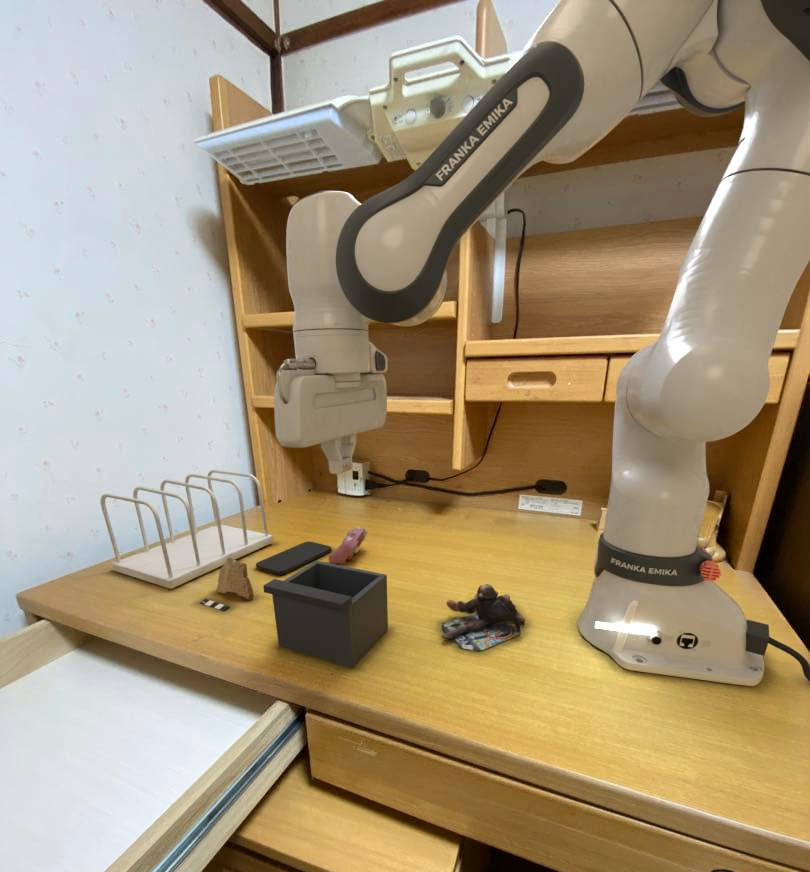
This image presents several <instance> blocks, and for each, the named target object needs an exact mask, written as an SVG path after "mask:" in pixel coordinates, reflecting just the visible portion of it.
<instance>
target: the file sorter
mask: <svg viewBox="0 0 810 872" xmlns="http://www.w3.org/2000/svg"><path fill="white" fill-rule="evenodd" d="M212 474H222V475H230V476H237V477H245V478H250V479H252V480H253V481H254V482H255V484H256V487H257V492H258V497H259V504H260V512H261V519H262V525H263V531H264V533H263V532H260V531H256V530H255V531H254V530H251V529H250V530H249V529H247V524H246V516H245V507H244V498H243V492H242V490H241V488H240V486H239V484H238V483H237V482H236V481H234V480H232V479H227V478H222V477H215V476H212ZM191 478H198V479H203V480H207V485H208V487H206V486H203V485H199V484H192V483H189V481H190V479H191ZM212 481H215V482H221V483H228V484H231V485H232V486H234V487H235V490H236V491H237V495H238V502H239V508H240V509H239V510H240V516H241V517H240V518H241V526H242V528H241V527H235V526H230V525H225V524H222V522H221V518H220V512H219V505H218V500H217V498H216V495H215V494H214V491H213V486H212ZM166 484H171V485H177V486H182V487H184V488H185V491H186V497H187V500H186V499H185V497H184V496H182V494H181V495H180V494H179V493H173V492H168V491H165V485H166ZM190 488H192V489H196V490H200V491H205V492H206V493H207V494H208V495H209V496H210V502H211V507H212V512H213V517H214V523H215V525H212V526H209V527H206V528H204V529H201V530H199V531H198V527H197V521H196V515H195V512H194V507H193V501H192V496H191V491H190ZM159 489H160V490H159ZM159 489H155V488H150V487H145V486H139V485H138V486H136V487H135V488H134V489H133V492H132V497H129V496H123V495H119V494H113V493H104V494H102V495H101V497H100V508H101V510H102V514H103V517H104V520H105V525H106V527H107V532H108V535H109V539H110V542H111V545H112V548H113V553H114V556H115V559H116V561H113V562H112V563H111V565H112V568H113V571H114V572H116V573H120V574H123V575H125V576H130V577H133V578H136V579H140V580H143V581H145V582H149V583H152V584H154V585H157V586H161V587H164V588H167V589H170V590H171V589H175V588H176V587H178V586H181V585H184V584H185V583H187V582H189V581H191V580H194V579H195V578H197V577H200V576H202V575H204V574H207V573H209V572H211V571H213V570H216V569H218V568H220V567H223V566H224V565H225V563H226V561H227V558H232V559H234V560H237V559H239V558H241V557H244V556H246V555H248V554H250V553H252V552H255V551H258V550H259V549H261V548H263V547H266V546H268V545H270V544H273V543H274V536H273V535H272V534H269V532H268V525H267V519H266V518H267V517H266V510H265V505H264V498H263V491H262V486H261V483H260V480H258V478H257V477H256V476H255V475H253V474H251V473H245V472H237V471H229V470H221V469H211V470H209V471H208V473H207V475H203V474H198V473H189V474H187V475H186V476H185V479H184V482H183V481H177V480H173V479H172V480H171V479H164V480H163V481H161V483H160V488H159ZM139 491H144V492H148V493H153V494H158V495H161V500H162V504H163V510H164V514H165V519H166V523H167V528H168V533H169V537H170V541H169V542H166V541H165V537H164V532H163V528H162V524H161V519H160V516H159V513H158V511H157V509H156V508H155V506H154V505H153V504H152V503H150V502H149V501H147V500H143V499H138V492H139ZM167 497H172V498H176V499H177V500H179V501H181V503H182V504H183V505H184V508H185V510H186V511H185V512H186V515H187V520H188V526H189V527H188V528H189V531H190V534H187V535H185V536H182V537H180V538H176V539H175V536H174V531H173V527H172V523H171V522H172V521H171V517H170V513H169V507H168V502H167ZM106 498H110V499H115V500H120V501H125V502H130V503H134V506H135V510H136V511H135V512H136V515H137V519H138V523H139V529H140V533H141V537H142V543H143V545H144V551H141V552H138V553H135V554H133V555H130V556H127V557H124V558H121V556H120V552H119V549H118V545H117V542H116V538H115V534H114V531H113V527H112V524H111V520H110V517H109V513H108V509H107V505H106ZM140 505H143V506H146V507H148V509H150V511H151V513H152V514H153V518H154V521H155V525H156V529H157V534H158V538H159V541H160V542H159V543H160V545H158V546H154V547H152V548H149V547H150V546H149V543H148V538H147V534H146V530H145V526H144V522H143V517H142V513H141V508H140Z"/></svg>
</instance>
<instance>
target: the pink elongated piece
mask: <svg viewBox="0 0 810 872" xmlns="http://www.w3.org/2000/svg"><path fill="white" fill-rule="evenodd" d="M367 534H368V531H367V530H366V529H365V528H362V527H359V526H357V527H356V528H352V529H350V530H349V531H347V533H346V536H345V538H343V540H342V542H341V544H340V545H339V546H338V547H336V549H334V550H333V551H331V552H330V554H329V555H328V563H331V564H336V565H338V564H340V563H343V562H344V561H346V560H349V561H350V560H351V559H352V558H353V556H354V555H355V554H357V553H359V551H360V546H361V545H362V543H363V542H364V541H365V539H366V536H367Z"/></svg>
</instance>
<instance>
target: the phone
mask: <svg viewBox="0 0 810 872" xmlns="http://www.w3.org/2000/svg"><path fill="white" fill-rule="evenodd" d="M329 553H332V546H330V545H327V544H323V543H318V542H315V541H304V542H301V543H299V544H296V545H295V546H292V547H289V548H288V549H286V550H283V551H281V552H278V553H276V554H274V555H271V556H269V557H267V558H265V559H261V560H259V561H258V562H256V563H255V568H256V569H257V570H261V571H263V572H264V571H265V572H268V573H271V574H273V575H278V576H280V575H284V574H287V573H289V572H291V571H293V570H295V569H297V568H300V567H302V566H304V565H306V564H308V563H310V562H312V561H314V560H317V559H318V558H320V557H323V556H324V555H327V554H329Z"/></svg>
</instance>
